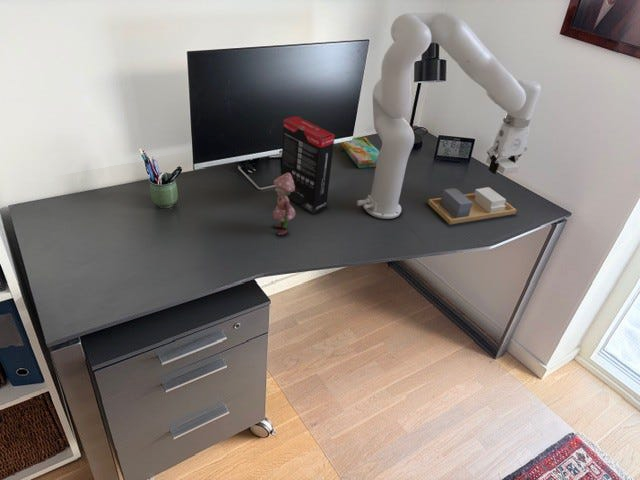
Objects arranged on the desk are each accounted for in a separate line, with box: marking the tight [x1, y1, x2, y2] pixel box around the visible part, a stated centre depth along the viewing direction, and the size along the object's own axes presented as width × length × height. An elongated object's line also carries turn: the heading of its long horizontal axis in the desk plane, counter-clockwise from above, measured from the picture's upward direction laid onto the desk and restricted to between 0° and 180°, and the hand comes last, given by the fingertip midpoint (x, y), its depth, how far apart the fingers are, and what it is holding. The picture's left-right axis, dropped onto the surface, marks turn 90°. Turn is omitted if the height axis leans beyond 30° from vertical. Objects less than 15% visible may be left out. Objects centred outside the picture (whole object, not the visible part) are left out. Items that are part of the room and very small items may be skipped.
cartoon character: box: [272, 173, 296, 236], centre depth 147 cm, size 10×7×20 cm
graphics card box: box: [280, 115, 336, 214], centre depth 160 cm, size 17×7×27 cm, turn 47°
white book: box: [474, 196, 506, 213], centre depth 175 cm, size 6×9×2 cm
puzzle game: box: [339, 137, 380, 169], centre depth 198 cm, size 12×5×20 cm
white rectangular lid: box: [485, 155, 520, 175], centre depth 166 cm, size 6×9×2 cm
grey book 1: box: [441, 187, 473, 212], centre depth 168 cm, size 5×10×3 cm, turn 22°
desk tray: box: [427, 192, 517, 225], centre depth 173 cm, size 28×14×2 cm, turn 112°
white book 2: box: [473, 186, 507, 207], centre depth 174 cm, size 6×9×2 cm
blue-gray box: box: [440, 197, 471, 218], centre depth 169 cm, size 5×10×3 cm, turn 22°
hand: (500, 170), depth 167 cm, fingers closed on white rectangular lid, 6 cm apart
